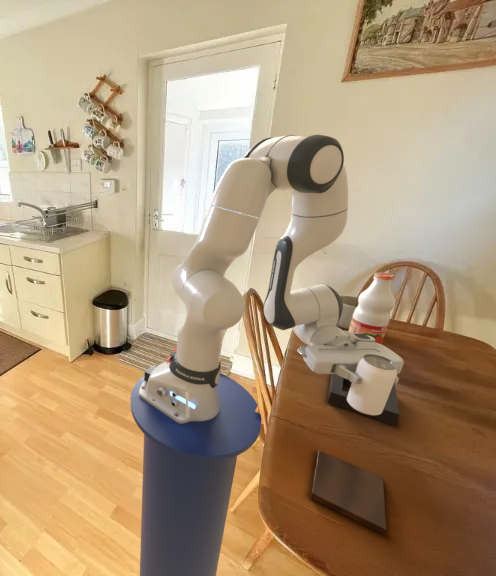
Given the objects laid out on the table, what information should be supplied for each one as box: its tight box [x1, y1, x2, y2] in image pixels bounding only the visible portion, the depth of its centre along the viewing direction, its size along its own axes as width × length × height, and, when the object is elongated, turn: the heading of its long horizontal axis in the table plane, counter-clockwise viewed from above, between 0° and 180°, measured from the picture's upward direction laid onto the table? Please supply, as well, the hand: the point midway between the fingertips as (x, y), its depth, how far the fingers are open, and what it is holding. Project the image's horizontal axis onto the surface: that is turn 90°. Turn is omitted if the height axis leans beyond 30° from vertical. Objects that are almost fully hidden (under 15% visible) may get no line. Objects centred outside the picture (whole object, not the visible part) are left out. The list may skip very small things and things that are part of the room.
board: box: [310, 450, 387, 536], centre depth 61 cm, size 11×12×2 cm
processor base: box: [327, 374, 400, 426], centre depth 85 cm, size 14×14×4 cm
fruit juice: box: [347, 271, 396, 345], centre depth 102 cm, size 9×9×28 cm
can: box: [347, 354, 398, 416], centre depth 68 cm, size 6×6×12 cm
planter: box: [336, 295, 359, 331], centre depth 122 cm, size 12×12×11 cm
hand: (376, 381), depth 67 cm, fingers closed on can, 6 cm apart
